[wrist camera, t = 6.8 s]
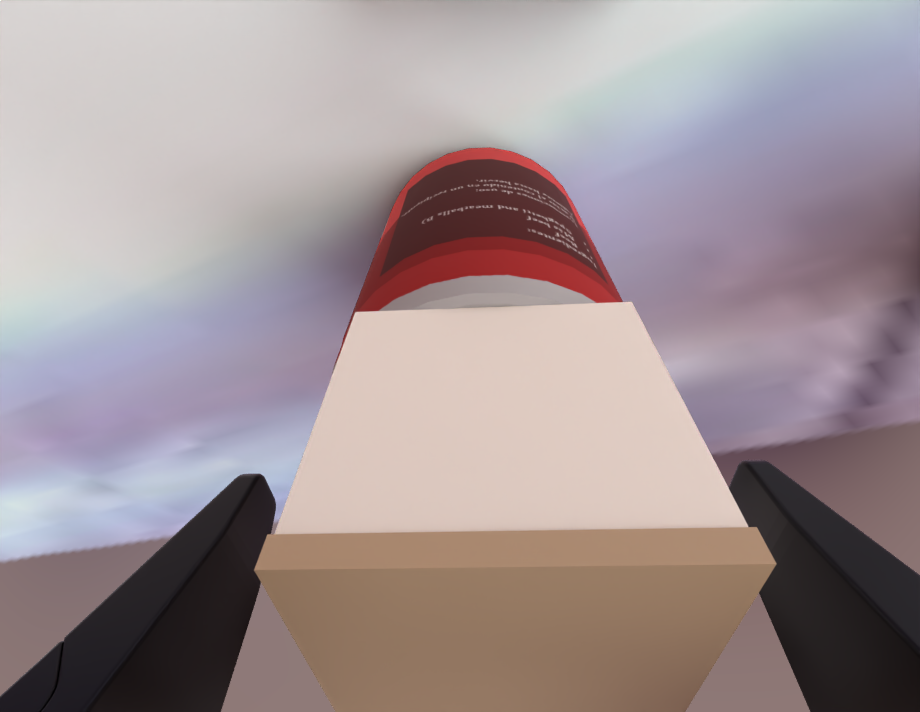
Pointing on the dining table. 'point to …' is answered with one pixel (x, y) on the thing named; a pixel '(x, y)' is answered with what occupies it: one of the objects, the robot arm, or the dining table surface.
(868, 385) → the dining table surface
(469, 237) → the canned food
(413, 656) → the cream box
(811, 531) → the robot arm
